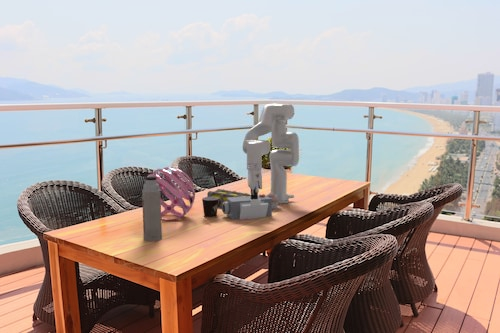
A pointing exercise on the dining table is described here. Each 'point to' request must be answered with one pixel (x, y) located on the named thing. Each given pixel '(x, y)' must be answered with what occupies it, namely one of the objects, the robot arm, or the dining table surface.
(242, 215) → the side door
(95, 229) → the dining table surface
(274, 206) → the cupcake
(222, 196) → the cage light
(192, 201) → the spiral basket
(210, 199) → the coffee mug
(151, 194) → the thermos bottle
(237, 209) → the block
